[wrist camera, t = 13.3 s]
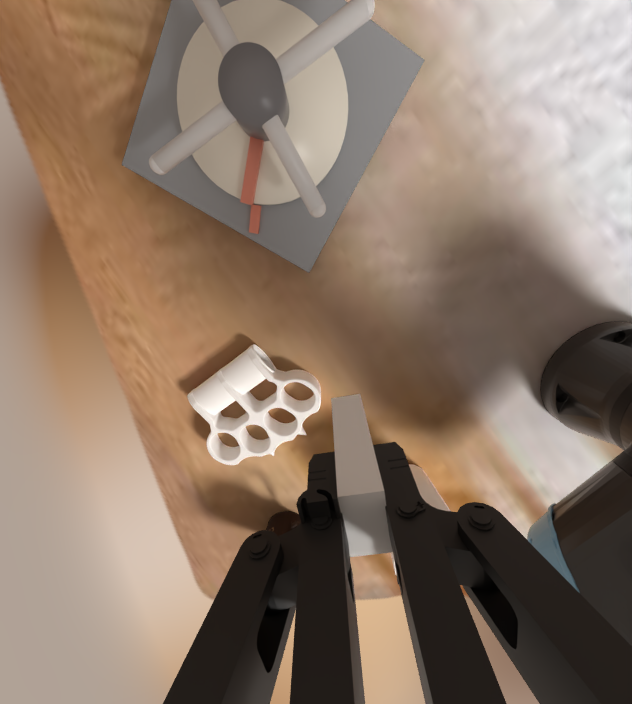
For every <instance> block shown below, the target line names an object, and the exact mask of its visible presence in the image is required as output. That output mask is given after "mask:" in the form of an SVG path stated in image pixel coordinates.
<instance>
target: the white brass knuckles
mask: <svg viewBox="0 0 632 704" xmlns="http://www.w3.org/2000/svg"><path fill="white" fill-rule="evenodd" d="M265 379H267V380H268V381H269V382H273V383H275V384H276V385H277V390H276V392H275V393H274V394H272V395H271V396H269V397H268V398H266V399H265V400H263V401H259V400H257V399H256V398H255V397H254V396H253V395H252V394H251V393H250V392H249V390H251V389H252V388H254V387H255V386H256V385H258V384H259V383H261V382H262V381H263V380H265ZM291 382H299V383H302V384H304V385H305V386H307V387H308V388H310V389H311V390H312V391H313V393H314V394H313V396H312V397H311V398H309V399H307V400H303V401H300V400H296V399H294V398H293V397H291V396H290V395H288V394H287V393H286V392H285V390H284V386H285V385H287V384H288V383H291ZM187 397H188V400H189V402H190V404H191V405H192V407H193V408H194V409H195V410H196V411H197V412H198V413H199V414H200V415H201V416H202V417H203V418H204V419H205V420H206V421H207V422H208V423H209V424H210V428H211V432H210V434H209V435H208V438H207V449H208V451H209V453H210V455H211V456H212V457H213V458H214V459H215V460H217V461H219V462H221V463H223V464H227V465H237V464H238V463H239V462H240V461H241V460H243V459H244V458H247V457H250V456H260V457H261V456H264V455H267V454H271V455H273V456H274V451H275V449H276V448H277V447H278V446H279V445H280V444H281V443H283V442H286V441H291V440H293V439H294V438H295V437H296V436H297V434H299V435H306V433H305V431H304V429H303V427H302V424H303V422H304V420H305V419H306V418H307V417H308V416H309V415H311V414H313V413H316V412H318V410H319V408H320V404H321V387H320V384H319V382H318V380H317V379H316V377H315V376H313V375H312V374H311V373H309V372H307V371H304V370H298V369H296V370H290V371H287V372H285V371H281V370H278V369H276V368H275V366H274V364H273V362H272V361H271V360H270V358H269V357H268V356H267V355H266V354H265V352H264V351H263V350H262V349H261V348H259V347H258V346H257V345H255V344H253V345H251V346H250V347H249V348H248V349H247V350H245V351H244V352H243V353H242V354H240V355H239V356H238V357H236V358H235V359H234V360H232V361H231V362H230V363H228V364H227V365H226V366H224V367H222V368H221V369H220V370H219V371H218V372H216V373H215V374H214V375H212V376H211V377H210V378H208V379H207V380H206V381H205V382H203V383H202V384H201V385H199V386H198V387H197V388H195V389H193V390H192V391H191V392H190V393H189V394H188V396H187ZM234 401H237V402H238V403H239V404H240V405H241V406H242V407H243V409H244V410H245V411H246V413H245V414H243V415H242V416H241V417H239V418H232V417H224V416H222V415H221V411H222V410H223V409H224V408H226V407H227V406H229V405H230V404H231V403H233V402H234ZM273 408H283V409H285V410H287V411H288V412H290V413H292V414H293V415H294V416H295V417H296V419H295V420H294V421H293V422H291V423H281V422H279V421H277V420H275V419H274V418H272V417H271V416H270V415H269V413H268V411H269V410H270V409H273ZM248 425H258V426H261V427H262V428H264V429H265V430H266V432H267V434H268V436H269V438H267V439H264V440H257V439H255V438H253V437H251V436H250V435H249V433H248V431H247V429H246V427H245V426H248ZM217 433H228V434H230V435H232V436H233V437H234V438H235V439H236V440H237V442H238V444H239V446H237V447H229V446H227V445H225V444H223V443H222V441H221V440H220V438H219V436H218V434H217Z"/></svg>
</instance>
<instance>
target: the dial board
mask: <svg viewBox="0 0 632 704" xmlns="http://www.w3.org/2000/svg"><path fill="white" fill-rule="evenodd" d="M217 1H218V3H219V5H220V7H223V6H225V5H227V4H229V3H231V2H233V1H236V0H217ZM281 1H283V2H286V3H288V4H290V5H293V6H294V7H296V8H298V9H299V10H301V11H302V12H304V13H305V14H306V15H308V16H309V17H310V18H311V19H312V20H314V22H315V23H316V24H317V25H318V26H319V25H320V24H322V23H323V22H324V21H325V20H327V19H328V18H329V17H331V16H332V15H333V14H334V13H336V12H337V11H338V10H340V9H341V8H342V7H343V6H345V5H346V4H347V3H348V2H346V1H345V0H281ZM203 22H204V20H203V19H202V17H201V15H200V13H199V11H198V10H197V8H196V6H195V4H194V2H193V1H192V0H171V4H170V7H169V10H168V14H167V17H166V20H165V24H164V27H163V30H162V33H161V37H160V40H159V43H158V47H157V50H156V53H155V57H154V60H153V63H152V66H151V70H150V73H149V76H148V80H147V83H146V86H145V90H144V93H143V96H142V99H141V103H140V106H139V109H138V113H137V116H136V119H135V123H134V126H133V129H132V132H131V136H130V139H129V142H128V146H127V149H126V152H125V155H124V159H123V162H122V165H123V166H125V167H126V168H128V169H130V170H132V171H133V172H135V173H137V174H139V175H140V176H142V177H144V178H145V179H147V180H149V181H151V182H152V183H154V184H156V185H158V186H159V187H161V188H163V189H164V190H166V191H168V192H170V193H171V194H173V195H175V196H177V197H178V198H180V199H182V200H184V201H185V202H187V203H189V204H190V205H192V206H194V207H196V208H197V209H199V210H201V211H203V212H204V213H206V214H208V215H210V216H211V217H213V218H215V219H216V220H218V221H220V222H222V223H223V224H225V225H227V226H229V227H230V228H232V229H234V230H236V231H237V232H239V233H241V234H242V235H244V236H246V237H248V238H249V239H251V240H253V241H255V242H256V243H258V244H260V245H261V246H263V247H265V248H267V249H268V250H270V251H272V252H274V253H275V254H277V255H279V256H281V257H282V258H284V259H286V260H287V261H289V262H291V263H293V264H294V265H296V266H298V267H300V268H301V269H303V270H305V271H307V272H308V273H309V272H310V270H311V269H312V267H313V265H314V263H315V261H316V259H317V257H318V256H319V254H320V252H321V250H322V248H323V246H324V245H325V243H326V241H327V239H328V237H329V235H330V234H331V232H332V230H333V228H334V226H335V224H336V222H337V221H338V219H339V217H340V215H341V213H342V211H343V210H344V208H345V206H346V204H347V202H348V200H349V199H350V197H351V195H352V193H353V191H354V189H355V187H356V186H357V184H358V182H359V180H360V178H361V176H362V175H363V173H364V171H365V169H366V167H367V165H368V163H369V162H370V160H371V158H372V156H373V154H374V152H375V151H376V149H377V147H378V145H379V143H380V141H381V140H382V138H383V136H384V134H385V132H386V130H387V128H388V127H389V125H390V123H391V121H392V119H393V117H394V116H395V114H396V112H397V110H398V108H399V106H400V105H401V103H402V101H403V99H404V97H405V95H406V93H407V92H408V90H409V88H410V86H411V84H412V82H413V81H414V79H415V77H416V75H417V73H418V71H419V70H420V68H421V66H422V64H423V62H424V59H423V58H421V57H420V56H419V55H417V54H416V53H415V52H413V51H412V50H410V49H409V48H408V47H406V46H405V45H404V44H402V43H401V42H400V41H398V40H397V39H396V38H394V37H393V36H392V35H390V34H389V33H388V32H386V31H385V30H384V29H382V28H381V27H380V26H378V25H377V24H376V23H374V22H373V21H372V20H369V21H368V22H366V23H365V24H364V25H362V26H361V27H360V28H358V29H357V30H356V31H354V32H353V33H352V34H350V35H349V36H348V37H346V38H345V39H344V40H342V41H341V42H340V43H338V44H337V45H336V46H334V49H335V51H336V53H337V55H338V58H339V60H340V63H341V65H342V68H343V72H344V76H345V80H346V85H347V92H348V120H347V127H346V132H345V137H344V140H343V144H342V147H341V150H340V152H339V155H338V157H337V159H336V161H335V163H334V165H333V166H332V168H331V170H330V171H329V172H328V174H327V175H326V176H325V178H324V179H323V180H322V181H321V182H320V183H319V184H318V185H317V186H316V188H317V189H318V191H319V193H320V195H321V197H322V199H323V201H324V203H325V205H326V211H325V213H324V215H323V216H322V217H319V218H315V217H313V216H312V215H311V214H310V213H309V211H308V209H307V207H306V206H305V204H304V202H303V200H302V198H301V197H300V198H298V199H296V200H293V201H291V202H287V203H283V204H277V205H259V204H253V206H252V205H248V204H245V203H241V202H240V200H241V199H239V198H237V197H235V196H233V195H231V194H229V193H227V192H226V191H224V190H223V189H221V188H220V187H218V186H217V185H216V184H215V183H214V182H213V181H212V180H210V178H209V177H208V176H207V175H206V174H205V173H204V172H203V171H202V169H201V168H200V166H199V165H198V164H197V162H196V161H195V159H194V157H193V155H192V154H191V155H190V156H189V157H187V158H186V159H185V160H183V161H182V162H181V163H179V164H178V165H177V166H175V167H174V168H173V169H171V170H170V171H169V172H167V173H166V174H164V175H159V174H156V173H155V172H154V171H153V170H152V169H151V167H150V165H149V159H150V157H151V156H152V155H153V154H154V153H156V152H157V151H158V150H159V149H161V148H162V147H163V146H165V145H166V144H167V143H168V142H170V141H171V140H172V139H174V138H175V137H176V136H177V135H179V134H180V133H181V132H182V129H181V125H180V120H179V115H178V107H177V83H178V75H179V70H180V66H181V62H182V58H183V56H184V53H185V51H186V48H187V46H188V44H189V42H190V40H191V38H192V37H193V35H194V33H195V32H196V31H197V29H198V28H199V27H200V25H201V24H202V23H203Z"/></svg>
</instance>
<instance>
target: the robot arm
mask: <svg viewBox="0 0 632 704" xmlns="http://www.w3.org/2000/svg"><path fill="white" fill-rule="evenodd" d="M541 396H542V400H543V403H544V405H545V407H546V409H547V410H548V411H549V412H550V414H551V415H552V416H554V417H555V418H556V419H558V420H559V421H560V422H561V423H563V424H564V425H565V426H567V427H569V428H570V429H572V430H574V431H577V432H579V433H582V434H585V435H588V436H591V437H594V438H597V439H600V440H603V441H606V442H608V443H611V444H614V445H617V446H619V447H620V448H622V449H623V450H624V451H623V452H622V453H621V454H620V455H618V456H617V457H616V458H615V459H613V460H612V461H611V462H609V463H608V464H607V465H605V466H604V467H603V468H602V469H600V470H599V471H598V472H597V473H595V474H594V475H593V476H591V477H590V478H589V479H588V480H586V481H585V482H584V483H583V484H581V485H580V486H579V487H577V488H576V489H575V490H574V491H572V492H571V493H570V494H569V495H567V496H566V497H565V498H563V499H562V500H561V501H560V502H558V503H557V504H555V503H554V504H552V505H551V506H550V507H549V508H548V511H547V512H546V513H545V514H544V515H543V516H542V517H541V518H540V519H538V520H537V521H536V522H535V523H534V524H533V525H532V526H531V527H530V529H529V532H528V538H527V539H526V538H525V537H524V536H523V535H522V534H521V533H520V532H519V531H518V530H517V529H516V528H515V527H514V526H513V525H512V524H511V523H510V522H509V521H508V520H507V519H506V518H505V517H504V516H503V515H502V514H501V513H500V512H498V511H497V510H496V509H494V508H493V507H491V506H489V505H486V504H484V503H476V502H473V503H467V504H465V505H463V506H461V507H460V509H459V510H458V512H451V511H444V510H440V509H437V508H435V507H432V506H431V505H429V504H428V503H426V502H425V501H424V499H423V498H422V497H421V495H420V493H419V490H418V487H417V485H416V482H415V480H414V477H413V474H412V472H411V469H410V467H409V464H408V461H407V459H406V456H405V454H404V451H403V449H402V448H401V447H400V446H399V445H398V444H397V443H395V442H392V443H385V444H378V445H373V444H372V439H371V435H370V431H369V427H368V423H367V419H366V415H365V411H364V407H363V403H362V399H361V395H360V394H356V395H349V396H343V397H337V398H331V401H332V417H333V433H334V449H335V452H328V453H321V454H314V455H313V457H312V459H311V460H310V462H309V469H308V488H307V490H306V491H305V492H303V493H302V495H301V496H300V497H299V498H298V501H297V504H296V505H297V508H298V512H299V516H300V519H301V523H300V524H299V525H298V526H297V527H295V528H294V529H292V530H290V531H289V532H286V533H284V534H282V535H280V536H277V535H276V534H275V533H274V532H272V531H269V530H262V531H258V532H256V533H254V534H252V535H251V536H249V537H248V538H247V539H246V540H245V541H244V543H243V544H242V546H241V547H240V549H239V551H238V553H237V555H236V557H235V559H234V561H233V563H232V565H231V567H230V569H229V571H228V573H227V576H226V578H225V580H224V582H223V584H222V586H221V588H220V590H219V592H218V594H217V596H216V598H215V600H214V602H213V604H212V606H211V608H210V610H209V612H208V614H207V616H206V618H205V620H204V622H203V624H202V626H201V628H200V630H199V632H198V634H197V636H196V638H195V640H194V642H193V644H192V646H191V648H190V650H189V652H188V654H187V656H186V658H185V660H184V662H183V664H182V666H181V668H180V670H179V672H178V674H177V677H176V678H175V680H174V682H173V685H172V687H171V688H170V691H169V692H168V695H167V697H166V699H165V701H164V703H163V704H270V701H271V697H272V693H273V690H274V686H275V682H276V679H277V675H278V671H279V668H280V664H281V660H282V657H283V653H284V650H285V646H286V642H287V639H288V635H289V631H290V628H291V624H292V620H293V617H294V613H295V610H296V617H295V632H294V648H293V663H292V678H291V695H290V704H365V698H364V688H363V678H362V667H361V657H360V646H359V636H358V626H357V615H356V604H355V594H354V584H353V573H352V569H351V564H350V557H355V556H364V555H372V554H381V553H389V552H393V555H394V560H395V567H396V574H397V581H398V584H399V586H400V590H401V595H402V599H403V604H404V608H405V613H406V617H407V622H408V626H409V630H410V635H411V640H412V644H413V649H414V653H415V658H416V662H417V667H418V671H419V676H420V680H421V685H422V689H423V694H424V698H425V703H426V704H506V701H505V699H504V696H503V694H502V692H501V689H500V686H499V684H498V681H497V679H496V676H495V674H494V671H493V668H492V666H491V663H490V661H489V658H488V656H487V653H486V651H485V648H484V646H483V643H482V641H481V638H480V636H479V633H478V630H477V628H476V625H475V623H474V620H473V618H472V615H471V613H470V610H469V608H468V605H467V603H466V600H465V598H464V595H463V592H462V590H461V587H460V585H463V588H464V589H465V591H466V592H467V594H468V595H469V597H470V598H471V600H472V601H473V603H474V604H475V606H476V607H477V609H478V611H479V612H480V614H481V615H482V617H483V618H484V620H485V621H486V623H487V624H488V626H489V627H490V629H491V630H492V632H493V633H494V635H495V636H496V638H497V639H498V641H499V642H500V644H501V645H502V647H503V649H504V650H505V652H506V653H507V655H508V656H509V658H510V659H511V661H512V662H513V664H514V665H515V667H516V668H517V670H518V671H519V673H520V674H521V676H522V677H523V679H524V680H525V682H526V683H527V685H528V686H529V688H530V690H531V691H532V693H533V694H534V696H535V697H536V699H537V700H538V702H539V703H540V704H632V323H629V322H608V323H603V324H599V325H596V326H593V327H590V328H588V329H586V330H584V331H582V332H580V333H578V334H576V335H575V336H573V337H572V338H571V339H569V340H568V341H567V342H566V343H564V344H563V345H562V346H561V347H560V348H559V349H558V350H557V352H556V353H555V354H554V355H553V357H552V358H551V360H550V361H549V363H548V365H547V367H546V369H545V371H544V374H543V377H542V382H541Z"/></svg>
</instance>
